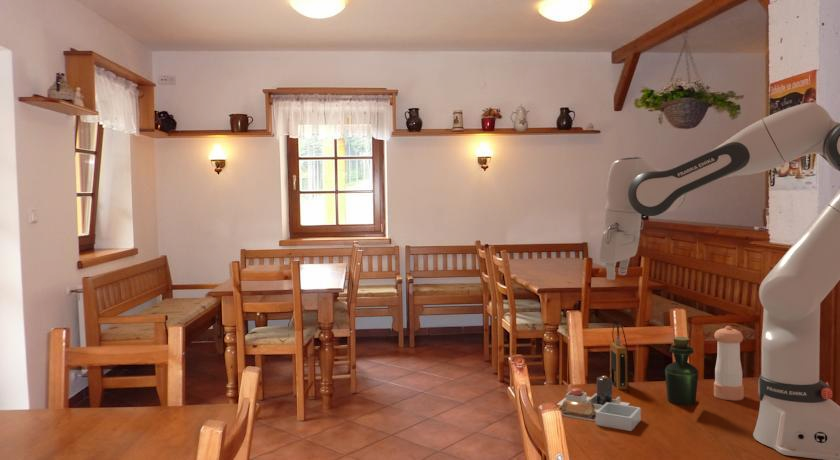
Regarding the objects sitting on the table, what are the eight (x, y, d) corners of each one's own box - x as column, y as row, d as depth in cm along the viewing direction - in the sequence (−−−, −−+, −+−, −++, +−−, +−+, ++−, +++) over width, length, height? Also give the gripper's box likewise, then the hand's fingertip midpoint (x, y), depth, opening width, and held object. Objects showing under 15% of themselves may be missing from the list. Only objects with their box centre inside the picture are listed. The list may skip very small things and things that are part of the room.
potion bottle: (669, 400, 170) (668, 333, 169) (701, 405, 166) (701, 336, 165) (661, 408, 164) (660, 339, 163) (694, 414, 159) (694, 343, 158)
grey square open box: (640, 426, 152) (640, 407, 152) (631, 437, 145) (631, 418, 145) (606, 420, 157) (606, 402, 156) (595, 430, 150) (595, 412, 150)
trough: (603, 419, 157) (603, 412, 157) (595, 427, 152) (595, 420, 152) (560, 411, 163) (560, 405, 163) (551, 419, 158) (550, 412, 158)
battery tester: (629, 408, 164) (629, 395, 164) (618, 420, 156) (618, 406, 156) (570, 399, 173) (570, 386, 173) (556, 410, 165) (556, 396, 165)
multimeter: (658, 398, 172) (657, 325, 171) (621, 398, 172) (620, 326, 171) (640, 382, 187) (640, 315, 186) (606, 383, 187) (605, 315, 186)
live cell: (594, 417, 157) (594, 402, 157) (589, 422, 154) (589, 406, 154) (565, 412, 161) (565, 397, 161) (559, 416, 158) (559, 401, 158)
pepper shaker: (708, 393, 175) (708, 324, 174) (733, 391, 176) (733, 323, 175) (723, 401, 168) (723, 329, 167) (749, 399, 169) (749, 328, 168)
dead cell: (614, 404, 163) (613, 375, 163) (609, 409, 160) (609, 379, 160) (599, 402, 165) (599, 373, 165) (594, 406, 162) (594, 377, 162)
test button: (583, 395, 167) (583, 389, 167) (579, 398, 165) (579, 392, 165) (573, 394, 169) (572, 387, 169) (569, 397, 166) (569, 390, 166)
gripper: (622, 226, 148) (616, 284, 149) (645, 221, 165) (640, 274, 166) (595, 223, 151) (590, 280, 153) (620, 219, 168) (616, 270, 170)
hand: (616, 277), depth 160 cm, fingers open, 8 cm apart
